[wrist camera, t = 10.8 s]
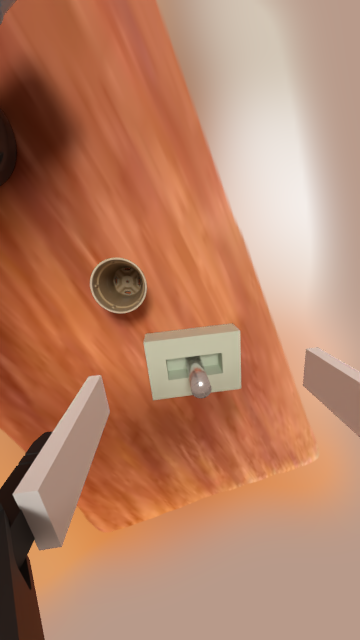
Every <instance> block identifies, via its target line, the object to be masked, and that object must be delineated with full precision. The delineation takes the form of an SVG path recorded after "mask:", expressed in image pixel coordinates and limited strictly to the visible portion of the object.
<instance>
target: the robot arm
mask: <svg viewBox="0 0 360 640" xmlns="http://www.w3.org/2000/svg"><path fill="white" fill-rule="evenodd" d="M15 2H16V0H0V25H1V24H2V20H3V16H4V15H5V13H6V12H7V11H8V10H9V9H10V8H11V6H12V5H13V4H14V3H15ZM16 154H17V151H16V142H15V137H14V133H13V131H12V128H11V126H10V123H9V121H8V119H7V118H6V116H5V114H4V113H3V111H2V110H1V109H0V186H1V185H2V184H3V183H4V182H6V181H7V179H8V178H9V177H10V175H11V174H12V172H13V169H14V166H15V163H16ZM303 386H304V387H305V388H306V389H307V390H308V391H310V392H311V393H312V394H313V395H314V396H315V397H316V398H317V399H318V400H319V401H321V402H322V403H323V404H324V405H325V406H326V407H327V408H328V409H329V410H331V412H333V413H334V414H335V415H336V416H337V417H338V418H339V419H340V420H342V422H344V423H345V424H346V425H347V426H348V427H349V428H350V429H351V430H352V431H354V432H355V433H356V434H357V435H358V436H359V437H360V371H358V370H356V369H354V368H352V367H351V366H349V365H347V364H346V363H344V362H342V361H340V360H339V359H337V358H335V357H333V356H332V355H330V354H328V353H326V352H325V351H323V350H321V349H320V348H318V347H316V348H309V349H306V356H305V367H304V379H303ZM109 413H110V410H109V405H108V401H107V397H106V393H105V389H104V385H103V381H102V377H101V375H97V376H89V377H88V378H87V380H86V381H85V383H84V384H83V386H82V388H81V389H80V391H79V392H78V394H77V395H76V397H75V398H74V400H73V401H72V403H71V405H70V406H69V408H68V409H67V411H66V412H65V414H64V415H63V417H62V418H61V420H60V422H59V423H58V425H57V426H56V428H55V429H54V431H53V432H45V433H44V434H42V435H41V436H40V437H39V438H38V439H37V440H36V441H35V442H33V444H32V445H31V447H30V448H29V449H28V451H27V452H26V454H25V456H23V458H22V459H21V461H20V462H19V465H18V466H16V468H15V469H14V470H13V472H12V473H11V475H10V476H9V477H8V479H7V480H6V482H5V483H4V485H3V486H2V487H1V489H0V640H45V639H44V634H43V629H42V624H41V618H40V613H39V607H38V602H37V597H36V591H35V586H34V580H33V575H32V570H31V565H30V560H29V558H28V556H27V554H28V552H29V550H30V548H31V545H32V543H33V541H34V540H35V542H36V545H37V547H38V549H39V550H45V549H50V548H57V547H62V544H63V542H64V539H65V536H66V533H67V530H68V528H69V525H70V522H71V519H72V516H73V513H74V511H75V508H76V505H77V502H78V500H79V497H80V494H81V491H82V488H83V486H84V483H85V480H86V477H87V474H88V472H89V469H90V466H91V463H92V461H93V458H94V455H95V452H96V449H97V447H98V444H99V441H100V438H101V435H102V433H103V430H104V427H105V424H106V421H107V419H108V416H109Z"/></svg>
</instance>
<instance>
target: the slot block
mask: <svg viewBox="0 0 360 640" xmlns="http://www.w3.org/2000/svg"><path fill="white" fill-rule="evenodd" d="M144 349H145V355H146V361H147V367H148V373H149V379H150V385H151V391H152V397H153V400H159V399H167V398H174V397H182V396H189V395H193V394H192V391H191V386H190V381H189V377H188V372H187V367H186V362H185V357H192V356H200V357H201V360H202V363H203V366H204V368H205V371H206V374H207V377H208V379H209V382H210V385H211V388H212V390H211V392H219V391H226V390H234V389H241V351H240V330H239V329H238V328H237V327H236V326H235V325H234V324H233V323H232V324H223V325H215V326H207V327H198V328H190V329H182V330H174V331H165V332H157V333H149V334H146V335H145V338H144Z"/></svg>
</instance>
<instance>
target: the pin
mask: <svg viewBox="0 0 360 640" xmlns="http://www.w3.org/2000/svg"><path fill="white" fill-rule="evenodd" d="M185 362H186V367H187V372H188V377H189V381H190V386H191V391H192V394H193V395H194V396H195V397H197V398H205V397H207V396H208V395H209V394H210V393H211V390H212V388H211V385H210V382H209V379H208V377H207V374H206V371H205V368H204V366H203V363H202V360H201V357H200V356H192V357H185Z"/></svg>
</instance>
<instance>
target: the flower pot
mask: <svg viewBox="0 0 360 640" xmlns="http://www.w3.org/2000/svg"><path fill="white" fill-rule="evenodd" d="M124 268H130V270H124ZM116 278H117V283H116V281H115V279H116ZM138 279H140V283H141V284H140V285H139V284H138V283H139V280H138ZM127 280H128V281H129V282H128V283H127V282H126V281H127ZM90 288H91V292H92V295H93V297H94V299H95V300H96V301H97V303H98V304H99V305H100V306H101V307H103V308H104V309H106V310H108V311H110V312H113V313H128V312H131V311H133V310H135V309H137V308H138V307H139V306H140V305H141V304H142V302H143V301H144V299H145V296H146V292H147V283H146V279H145V276H144V274H143V272H142V271H141V269H140V268H139V267H138V266H137V265H136V264H134V263H133V262H131V261H129V260H127V259H124V258H109V259H106V260H104V261H102V262H101V263H99V264H98V265H97V266H96V267H95V269H94V270H93V272H92V274H91V278H90ZM126 291H128V292H130V291H131V294H127V293H125V292H126Z"/></svg>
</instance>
